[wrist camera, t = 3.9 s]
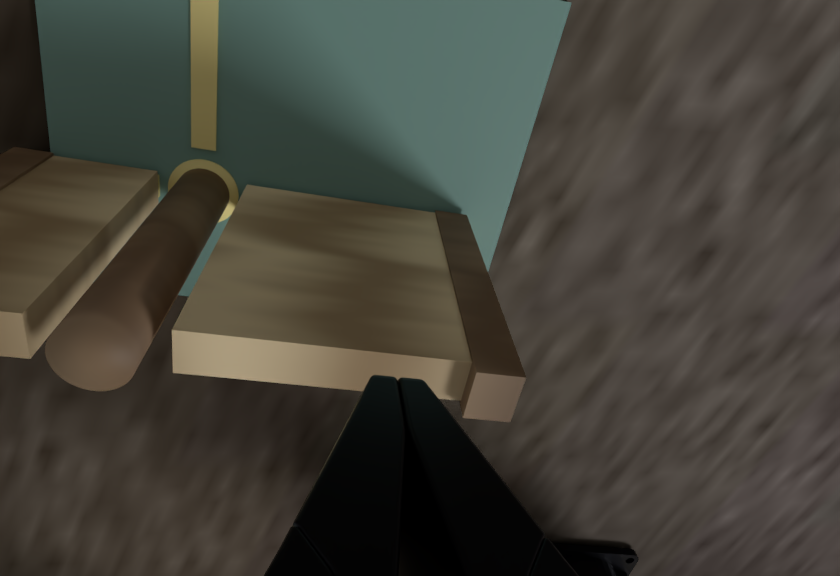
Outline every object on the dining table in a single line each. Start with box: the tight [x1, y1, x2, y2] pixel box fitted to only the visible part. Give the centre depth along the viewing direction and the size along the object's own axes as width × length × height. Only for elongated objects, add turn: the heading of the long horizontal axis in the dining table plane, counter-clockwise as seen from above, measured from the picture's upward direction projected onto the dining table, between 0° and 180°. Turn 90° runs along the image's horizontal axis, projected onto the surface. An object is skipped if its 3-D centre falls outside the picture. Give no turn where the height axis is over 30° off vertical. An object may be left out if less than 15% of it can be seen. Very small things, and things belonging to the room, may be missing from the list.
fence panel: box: [172, 185, 526, 422], centre depth 17 cm, size 8×1×10 cm, turn 79°
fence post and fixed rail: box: [0, 147, 230, 391], centre depth 16 cm, size 7×2×10 cm, turn 79°
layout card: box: [35, 0, 571, 296], centre depth 20 cm, size 16×13×1 cm
